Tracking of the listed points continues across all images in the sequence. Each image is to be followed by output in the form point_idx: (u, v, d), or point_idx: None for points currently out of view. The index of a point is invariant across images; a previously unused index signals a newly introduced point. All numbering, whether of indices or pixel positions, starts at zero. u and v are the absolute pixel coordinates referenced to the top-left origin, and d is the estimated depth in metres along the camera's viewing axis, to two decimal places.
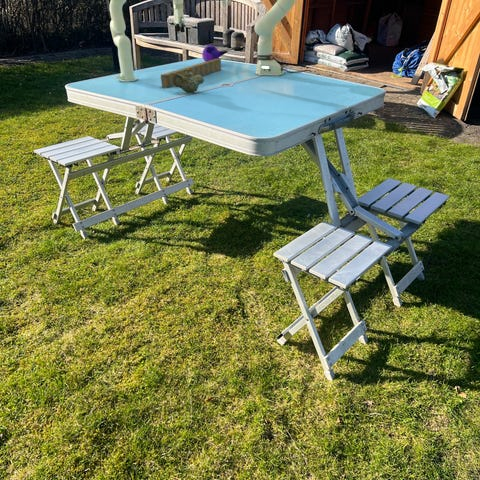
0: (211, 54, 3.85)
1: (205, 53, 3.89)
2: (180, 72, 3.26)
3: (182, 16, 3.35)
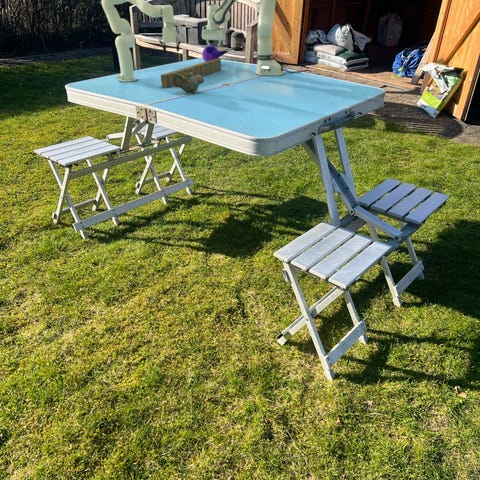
0: (211, 54, 3.85)
1: (205, 53, 3.89)
2: (180, 72, 3.26)
3: None
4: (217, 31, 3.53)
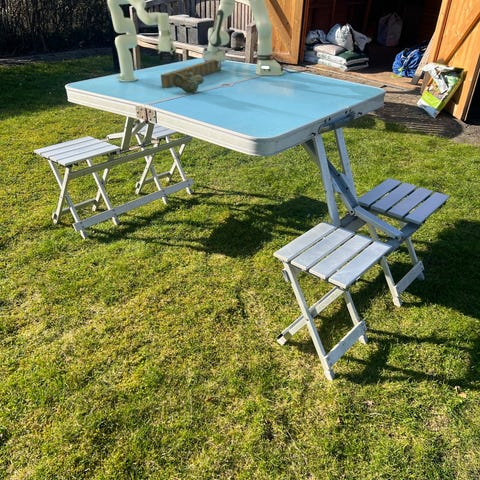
0: None
1: None
2: (180, 72, 3.26)
3: None
4: (218, 53, 3.61)
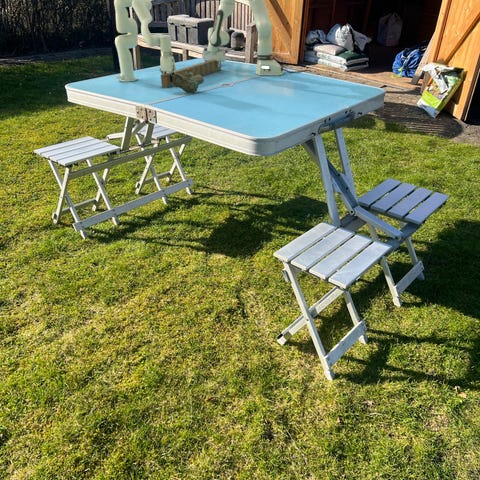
0: None
1: None
2: (180, 72, 3.26)
3: None
4: (218, 53, 3.61)
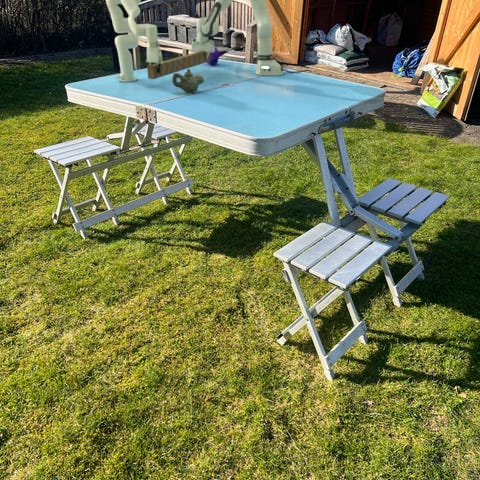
0: (211, 54, 3.85)
1: None
2: (167, 63, 3.22)
3: None
4: (206, 43, 3.56)
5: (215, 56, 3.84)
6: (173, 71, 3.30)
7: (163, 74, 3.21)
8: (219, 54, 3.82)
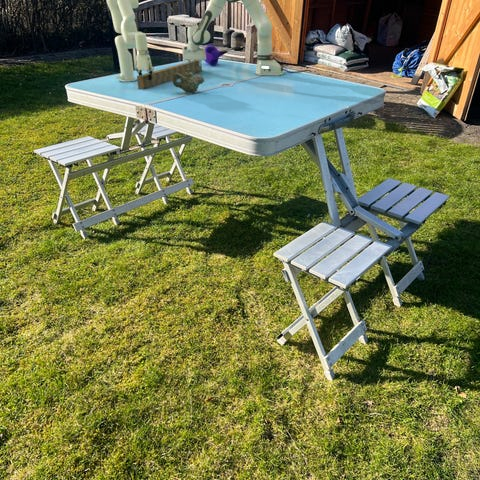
0: (211, 54, 3.85)
1: (205, 53, 3.89)
2: (157, 73, 3.24)
3: None
4: (198, 51, 3.58)
5: (215, 56, 3.84)
6: (163, 81, 3.32)
7: (153, 84, 3.23)
8: (219, 54, 3.82)
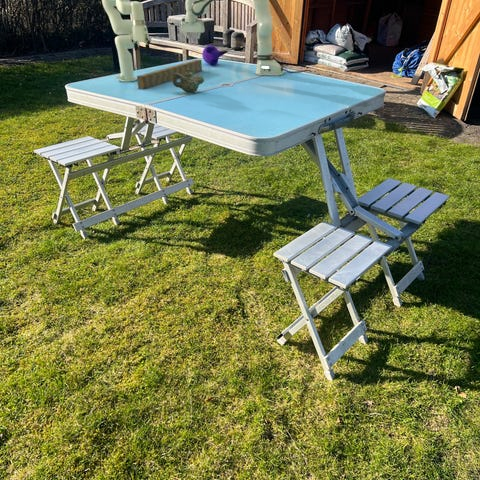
0: (211, 54, 3.85)
1: (205, 53, 3.89)
2: (157, 73, 3.24)
3: None
4: (196, 23, 3.47)
5: (215, 56, 3.84)
6: (163, 81, 3.32)
7: (153, 84, 3.23)
8: (219, 54, 3.82)
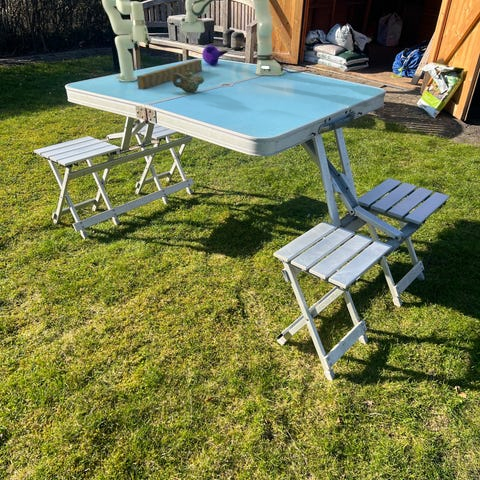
0: (211, 54, 3.85)
1: (205, 53, 3.89)
2: (157, 73, 3.24)
3: None
4: (196, 23, 3.47)
5: (215, 56, 3.84)
6: (163, 81, 3.32)
7: (153, 84, 3.23)
8: (219, 54, 3.82)
